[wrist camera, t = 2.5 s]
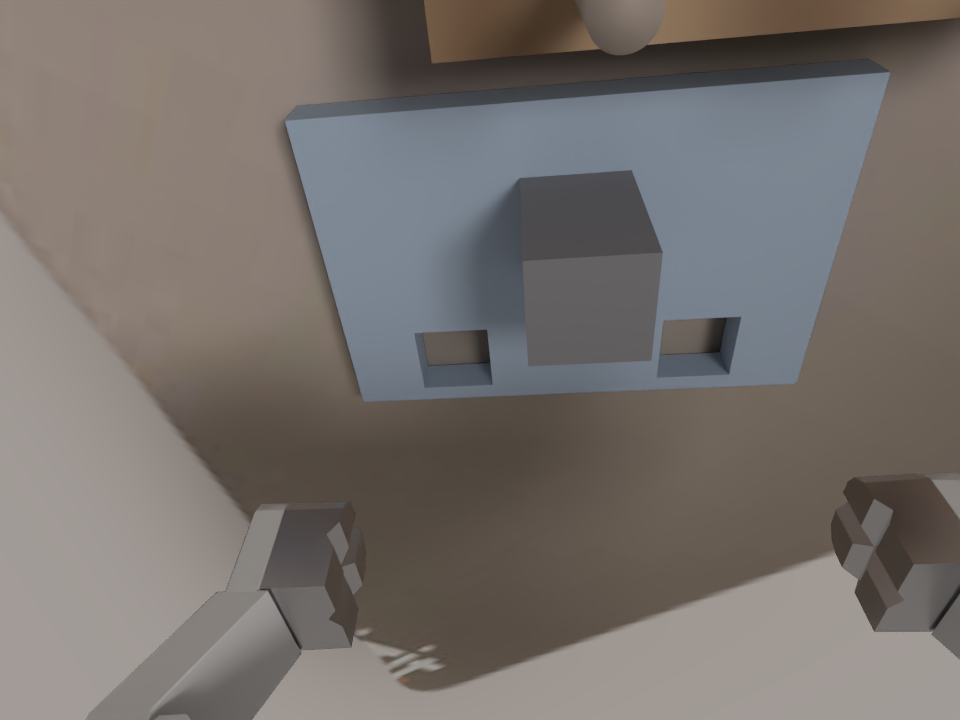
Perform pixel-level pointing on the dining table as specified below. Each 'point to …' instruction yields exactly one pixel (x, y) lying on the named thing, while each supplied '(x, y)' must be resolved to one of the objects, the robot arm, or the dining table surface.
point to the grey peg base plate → (587, 225)
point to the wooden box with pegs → (643, 22)
